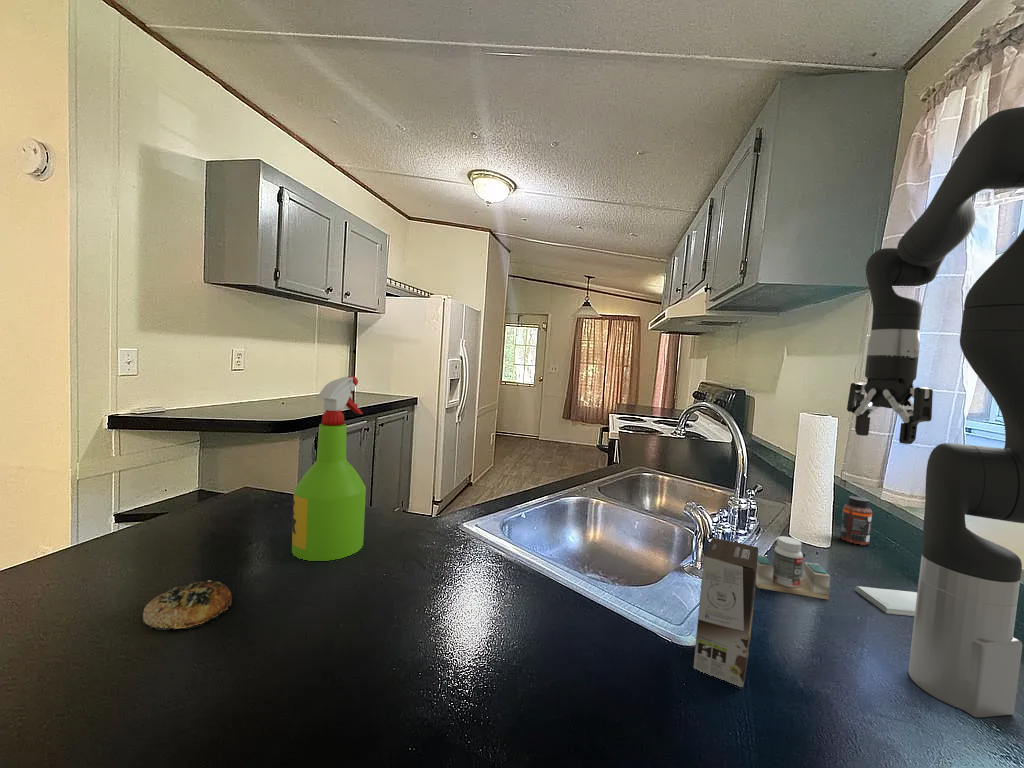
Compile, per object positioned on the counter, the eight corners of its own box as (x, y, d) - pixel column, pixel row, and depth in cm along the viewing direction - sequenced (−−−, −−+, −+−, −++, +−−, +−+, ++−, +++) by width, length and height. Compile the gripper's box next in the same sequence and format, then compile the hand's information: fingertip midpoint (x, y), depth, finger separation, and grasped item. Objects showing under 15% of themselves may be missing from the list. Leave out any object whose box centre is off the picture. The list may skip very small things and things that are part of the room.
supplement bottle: (875, 547, 112) (880, 502, 112) (851, 545, 112) (856, 501, 112) (857, 537, 118) (861, 495, 118) (834, 536, 118) (838, 494, 118)
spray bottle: (383, 531, 102) (390, 377, 101) (342, 566, 85) (351, 380, 83) (327, 524, 104) (333, 373, 103) (276, 557, 86) (283, 375, 85)
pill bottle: (798, 590, 85) (803, 547, 84) (770, 582, 87) (774, 540, 87) (800, 581, 89) (804, 540, 88) (773, 573, 91) (777, 533, 91)
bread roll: (237, 587, 75) (235, 560, 74) (226, 634, 65) (225, 604, 64) (154, 601, 70) (151, 572, 69) (129, 654, 60) (126, 621, 59)
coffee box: (744, 691, 58) (756, 569, 57) (691, 670, 61) (702, 554, 61) (750, 654, 66) (760, 546, 65) (703, 637, 69) (712, 534, 68)
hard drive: (886, 607, 80) (961, 614, 79) (855, 585, 88) (922, 591, 87) (886, 616, 80) (960, 623, 79) (854, 593, 88) (921, 599, 87)
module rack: (815, 584, 89) (817, 562, 89) (828, 599, 84) (831, 576, 83) (749, 573, 92) (751, 552, 92) (757, 587, 87) (759, 564, 86)
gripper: (841, 353, 92) (833, 432, 92) (915, 353, 78) (904, 446, 78) (872, 356, 93) (864, 433, 94) (950, 356, 79) (940, 447, 80)
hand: (883, 439), depth 86 cm, fingers open, 8 cm apart
